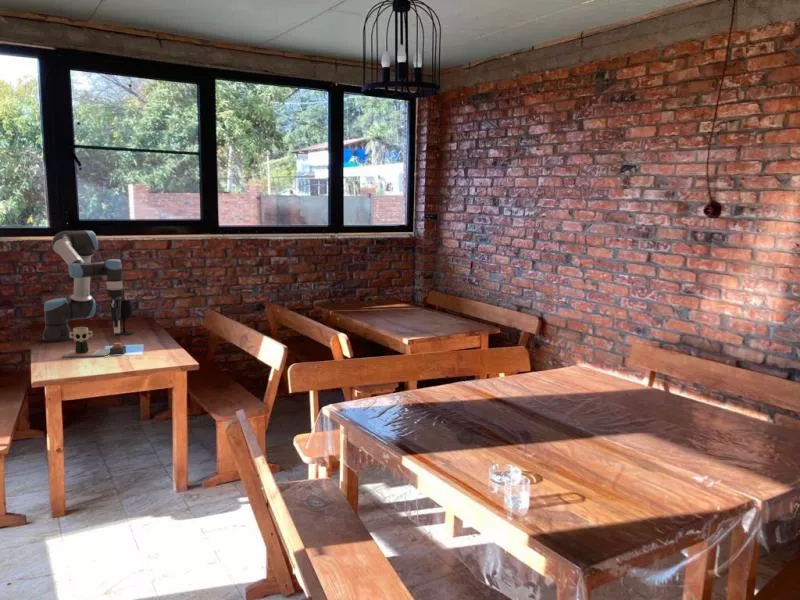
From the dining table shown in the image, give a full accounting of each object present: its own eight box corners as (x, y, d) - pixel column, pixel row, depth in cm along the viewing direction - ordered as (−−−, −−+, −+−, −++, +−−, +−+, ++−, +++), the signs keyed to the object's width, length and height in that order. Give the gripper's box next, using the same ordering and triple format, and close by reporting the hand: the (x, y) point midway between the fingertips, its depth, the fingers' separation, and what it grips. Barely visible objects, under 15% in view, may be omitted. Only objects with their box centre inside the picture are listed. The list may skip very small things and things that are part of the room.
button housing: (113, 352, 344) (113, 345, 344) (126, 351, 345) (125, 345, 345) (110, 354, 338) (109, 348, 337) (122, 354, 339) (122, 348, 338)
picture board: (71, 351, 345) (71, 349, 345) (114, 350, 348) (114, 348, 348) (61, 357, 330) (61, 356, 330) (107, 356, 334) (107, 355, 334)
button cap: (115, 348, 343) (115, 342, 342) (122, 348, 343) (121, 342, 343) (113, 349, 339) (113, 344, 339) (120, 349, 340) (120, 344, 339)
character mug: (70, 354, 333) (68, 330, 331) (70, 351, 339) (69, 327, 337) (93, 352, 338) (92, 328, 336) (93, 350, 344) (92, 326, 342)
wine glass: (124, 336, 384) (123, 303, 381) (111, 334, 388) (109, 302, 385) (137, 333, 394) (135, 301, 391) (124, 331, 397) (122, 299, 394)
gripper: (110, 287, 342) (113, 330, 346) (103, 290, 329) (106, 335, 333) (125, 287, 343) (127, 330, 347) (119, 290, 331) (121, 335, 334)
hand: (117, 332), depth 340 cm, fingers closed
